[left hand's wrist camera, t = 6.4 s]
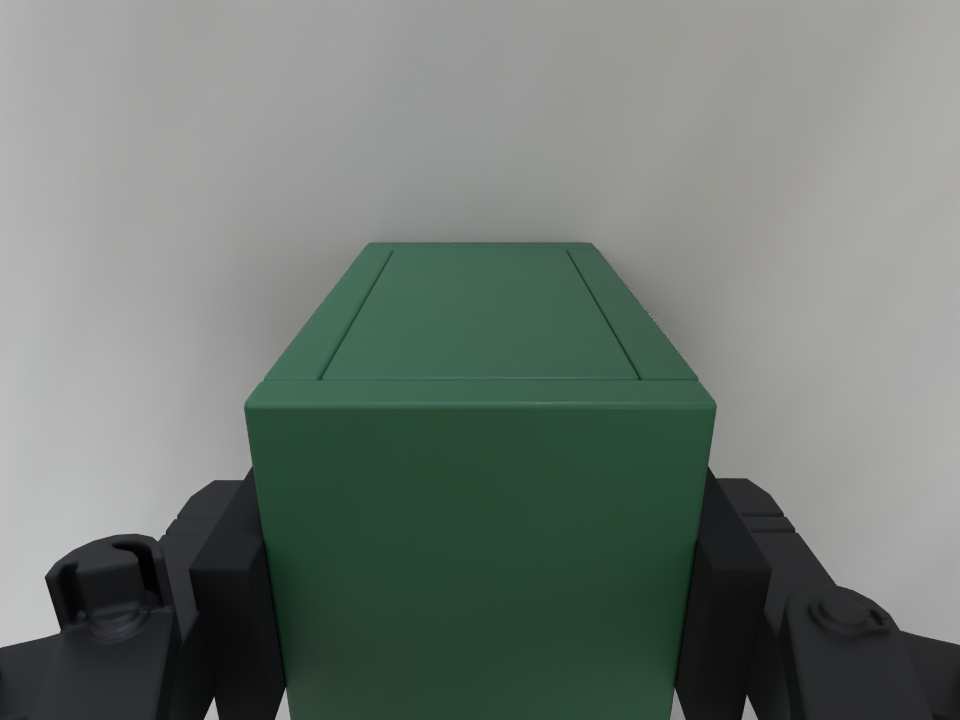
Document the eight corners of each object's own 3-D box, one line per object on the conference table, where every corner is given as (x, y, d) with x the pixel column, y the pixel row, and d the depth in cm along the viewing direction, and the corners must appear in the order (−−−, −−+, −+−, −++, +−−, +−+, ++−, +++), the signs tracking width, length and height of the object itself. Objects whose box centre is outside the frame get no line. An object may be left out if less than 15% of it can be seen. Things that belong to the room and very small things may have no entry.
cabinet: (560, 749, 24) (608, 1141, 15) (399, 749, 24) (352, 1141, 15) (592, 242, 17) (720, 402, 8) (367, 242, 17) (239, 402, 8)
